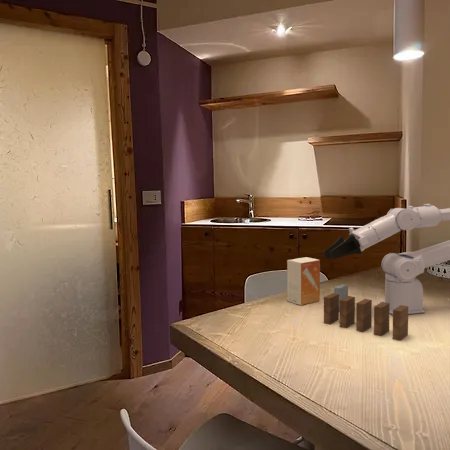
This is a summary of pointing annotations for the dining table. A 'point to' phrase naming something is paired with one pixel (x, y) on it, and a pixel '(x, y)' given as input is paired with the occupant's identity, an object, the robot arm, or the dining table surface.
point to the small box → (303, 280)
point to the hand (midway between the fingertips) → (328, 255)
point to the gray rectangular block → (341, 292)
